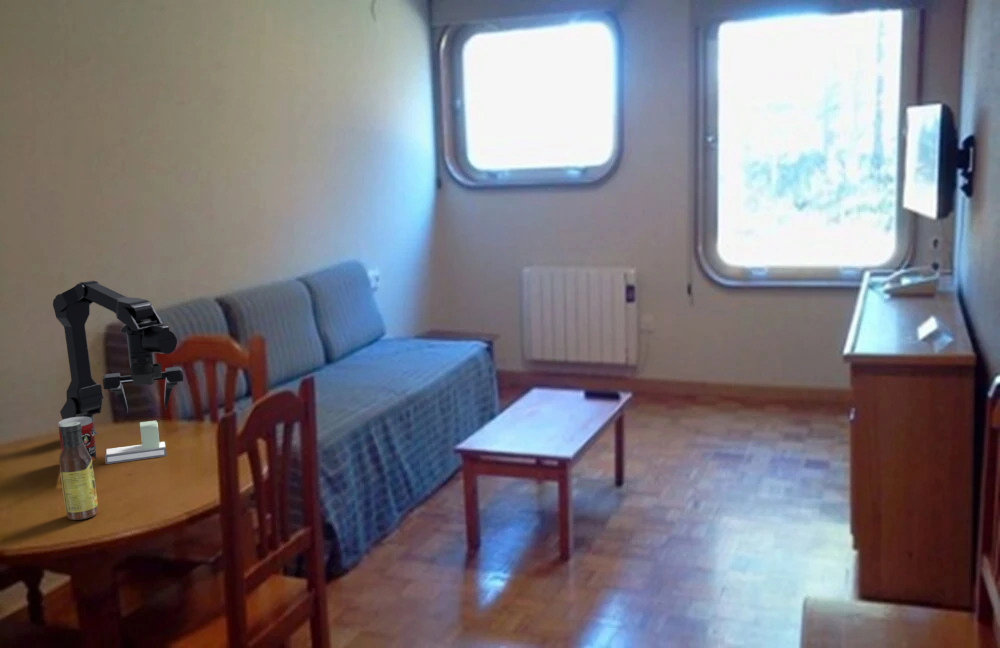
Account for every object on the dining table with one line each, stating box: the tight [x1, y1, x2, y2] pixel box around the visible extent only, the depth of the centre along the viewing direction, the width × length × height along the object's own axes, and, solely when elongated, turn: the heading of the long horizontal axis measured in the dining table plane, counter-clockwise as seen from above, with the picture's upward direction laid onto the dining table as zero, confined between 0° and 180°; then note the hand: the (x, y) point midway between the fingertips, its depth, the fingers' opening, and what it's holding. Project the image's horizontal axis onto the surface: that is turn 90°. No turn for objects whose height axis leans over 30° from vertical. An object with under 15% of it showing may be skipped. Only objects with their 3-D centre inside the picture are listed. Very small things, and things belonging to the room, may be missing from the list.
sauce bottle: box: [58, 422, 99, 521], centre depth 193 cm, size 7×6×20 cm
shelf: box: [104, 441, 168, 465], centre depth 234 cm, size 13×14×3 cm
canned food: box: [57, 417, 97, 462], centre depth 229 cm, size 8×8×11 cm
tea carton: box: [139, 420, 160, 450], centre depth 237 cm, size 4×6×6 cm
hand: (146, 410), depth 236 cm, fingers open, 9 cm apart
